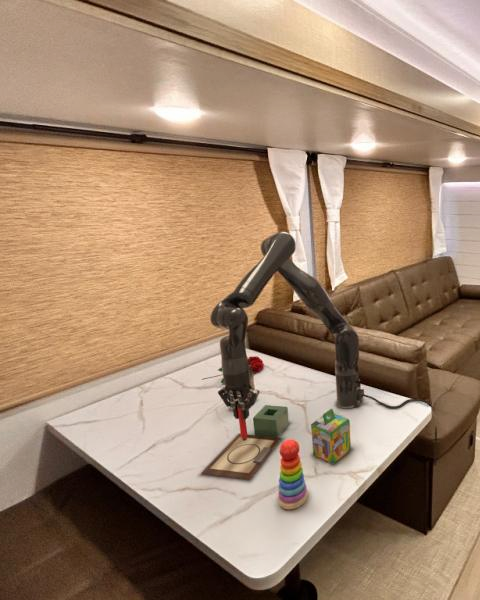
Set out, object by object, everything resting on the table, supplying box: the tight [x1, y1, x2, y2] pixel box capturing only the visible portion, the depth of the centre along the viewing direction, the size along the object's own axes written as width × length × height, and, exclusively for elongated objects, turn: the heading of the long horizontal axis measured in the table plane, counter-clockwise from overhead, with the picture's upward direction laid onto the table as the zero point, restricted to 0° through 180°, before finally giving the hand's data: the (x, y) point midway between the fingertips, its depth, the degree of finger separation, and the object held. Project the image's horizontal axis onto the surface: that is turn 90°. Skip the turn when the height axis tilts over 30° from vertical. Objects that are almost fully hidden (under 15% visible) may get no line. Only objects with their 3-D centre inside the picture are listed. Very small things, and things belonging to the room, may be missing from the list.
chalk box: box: [310, 408, 352, 465], centre depth 121 cm, size 9×9×15 cm
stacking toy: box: [277, 438, 309, 510], centre depth 101 cm, size 8×8×19 cm
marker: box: [237, 403, 249, 441], centre depth 120 cm, size 2×2×13 cm
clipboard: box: [201, 433, 282, 481], centre depth 122 cm, size 16×20×1 cm
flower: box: [201, 356, 265, 384], centre depth 175 cm, size 9×10×30 cm
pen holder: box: [252, 404, 290, 438], centre depth 135 cm, size 9×9×7 cm
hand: (242, 417), depth 120 cm, fingers closed on marker, 2 cm apart
